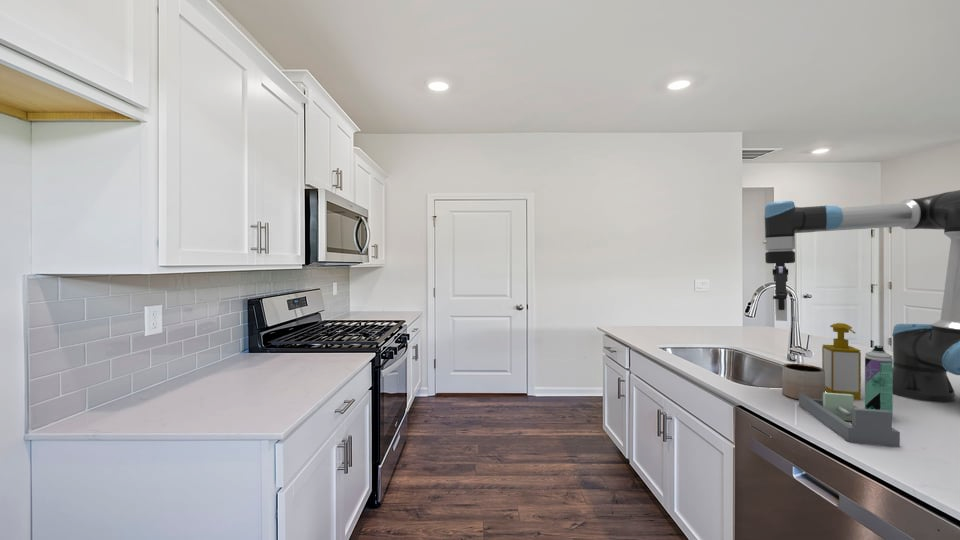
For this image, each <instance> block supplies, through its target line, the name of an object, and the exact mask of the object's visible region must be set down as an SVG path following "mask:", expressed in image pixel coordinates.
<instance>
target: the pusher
mask: <svg viewBox="0 0 960 540" xmlns="http://www.w3.org/2000/svg"><path fill="white" fill-rule="evenodd" d="M854 400H855V399H854V396H853V395H851V394H839V393H823V407H824V408H826V409H827V410H829V411H830V412H832V413H833V414H835V415H836V416H838V417H839V418H841V419H842V420H844V421H845V422H852V408H854V406H855V405H854V404H855V403H854Z"/></svg>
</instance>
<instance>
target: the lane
mask: <svg viewBox="0 0 960 540" xmlns="http://www.w3.org/2000/svg"><path fill="white" fill-rule="evenodd" d="M798 406H799V407H800V408H801V409H802V410H804V411H805V412H807V413H808V414H810V415H811V416H813V418H816V420H818V421H819V422H820V423H821V424H823V425H825V426H826V427H827V428H829V430H831V431H832V432H834V433H835V434H837V435H838V436H840V437H841V438H842V439H843V440H844V441H846V442H848V443H859V444H867V445H876V446H877V445H879V446H890V447H901V443H900V442H901V438H900V437H901V432H900V431H898V430H897V429H896V428H893V411H892V412H890V411H888V410H875V409H865V408H861V407H857V406H855V405H854V408H852V421H851V424H850V423H849V422H848V421H846V420H842V419H841V418H839V417H838V416H836V415H835V414H833V413H832V412H830V411H829V410H827V409H826V408H824V407H823V399H812V398H809V397H808V396H806V395H801V394H799V400H798Z"/></svg>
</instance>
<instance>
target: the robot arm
mask: <svg viewBox="0 0 960 540" xmlns="http://www.w3.org/2000/svg"><path fill="white" fill-rule="evenodd" d="M763 217H764V235H765V236H764V237H765V239H764V240H763V241H762V244H763V245H765V250H766V252H765V253H764V254H765V257H764V258H765V264H775V266H774V268H773V269H772V275H773V282H774V283H775V285H774V286H775V290H774V293H775V295H773V296H772V299H773V300H775V301H774V304H775V306H774V307H775V309H774V310H775V313H774V314H775V321H778V322H779V321H780V322H782V321H783V322H788V299H787V298H788V295H789V294H788V291H787V282H788V280H789V279H788V278H789V277H788V276H789V269H788V268H787V267H786V264H795V262H796V251H794V250H795V249H796V234H803V233H805V234H806V233H814V232H815V233H817V232H832V231H850V230H865V229H883V228H884V229H885V228H886V229H887V228H898V227H900V228H901V229H903V230H944V231H943V234H944V235H945V236H946V237H947V238H948V239H949V240H950V245H949V253H948V261H947V268H946V276H945V283H944V290H943V298H942V304H941V305H942V306H941V313H940V319H939V320H937V321H936V322H933V323H932V324H931V323H930V324H929V323H897V324H895V325H894V326H893V330H892V351H893V352H892V359H893V395H896V396H900V397H905V398H910V399H912V400H918V401H926V402H937V403H951V402H955V401H956V393H955V390H954V388H953V385H952V383H951V381H950V379H949V377H948V374H947V373H949V374H952V375H956V376H960V189H958V190H952V191H946V192H942V193H938V194H934V195H930V196H925V197H920V198H910V199H904V200H902V201H901V202H900V203H899V202H898V203H897V202H896V203H887V204H886V203H885V204H872V205H871V204H870V205H861V206H859V205H858V206H846V207H839V206H838V205H827V204H826V205H819V206H818V205H816V206H815V205H814V206H804V207H801V206H800V207H798V206H796V205H795V202H794V201H793V200H780V201H773V202H768V203H767V204H766V205H765V207H764V216H763Z"/></svg>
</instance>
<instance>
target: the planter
mask: <svg viewBox="0 0 960 540" xmlns="http://www.w3.org/2000/svg"><path fill="white" fill-rule="evenodd" d="M781 376H782V377H781V378H782V387H781V388H782V390H781V392H782V394H784V396H786V397H787V398H790V399H793V400H796V401H799V394H801V395H806V396H808V397H809V398H812V399H823V393H825V370H824V369H822V368H821V367H819V366H815V365H810V364H804V363H784V364H782V375H781Z"/></svg>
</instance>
